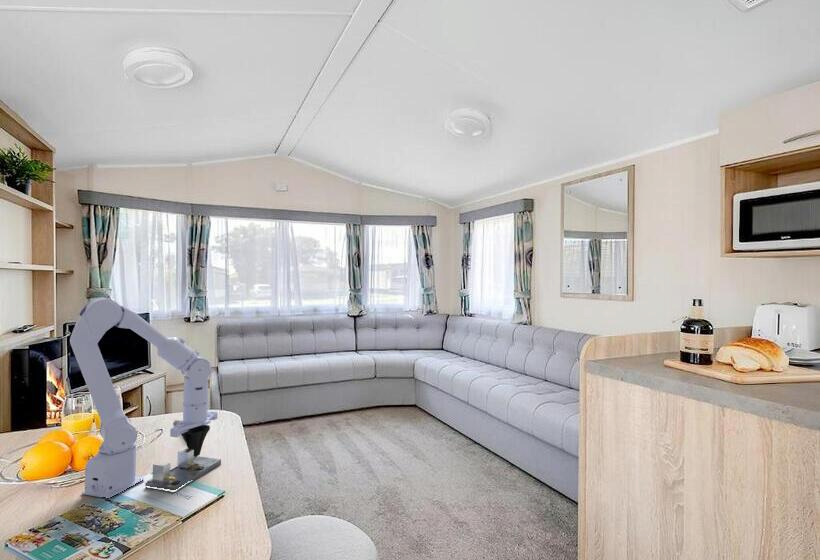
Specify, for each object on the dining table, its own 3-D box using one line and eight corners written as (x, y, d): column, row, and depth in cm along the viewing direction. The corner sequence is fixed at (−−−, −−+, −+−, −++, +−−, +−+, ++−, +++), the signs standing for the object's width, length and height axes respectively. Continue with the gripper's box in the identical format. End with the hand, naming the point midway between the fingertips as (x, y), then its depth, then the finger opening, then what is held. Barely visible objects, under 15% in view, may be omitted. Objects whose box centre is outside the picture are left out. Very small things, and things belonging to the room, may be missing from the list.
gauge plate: (174, 492, 99) (174, 470, 99) (145, 488, 101) (145, 465, 101) (221, 464, 114) (221, 444, 114) (195, 460, 116) (195, 440, 116)
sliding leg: (195, 469, 107) (196, 453, 107) (177, 467, 109) (177, 451, 109) (201, 466, 109) (201, 450, 109) (183, 463, 111) (183, 448, 111)
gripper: (187, 412, 104) (186, 469, 104) (227, 396, 118) (226, 446, 118) (163, 409, 106) (162, 465, 106) (205, 394, 120) (204, 443, 120)
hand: (194, 455), depth 112 cm, fingers closed
